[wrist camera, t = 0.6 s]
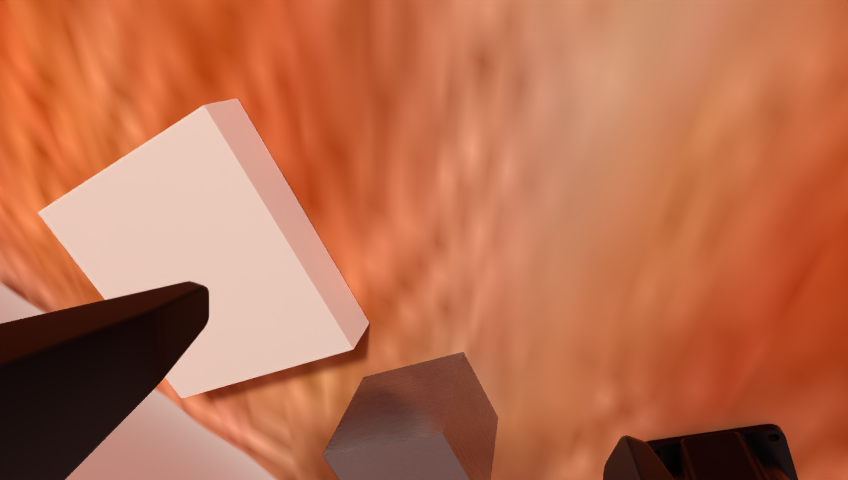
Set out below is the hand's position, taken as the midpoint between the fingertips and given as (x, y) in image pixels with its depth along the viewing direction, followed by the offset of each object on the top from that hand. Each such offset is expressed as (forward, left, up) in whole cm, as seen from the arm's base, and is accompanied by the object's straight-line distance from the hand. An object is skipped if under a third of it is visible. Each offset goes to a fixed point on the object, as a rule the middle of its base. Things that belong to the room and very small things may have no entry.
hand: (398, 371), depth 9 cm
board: (+2, +17, -14) cm, 21 cm away
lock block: (-11, +9, -14) cm, 20 cm away
